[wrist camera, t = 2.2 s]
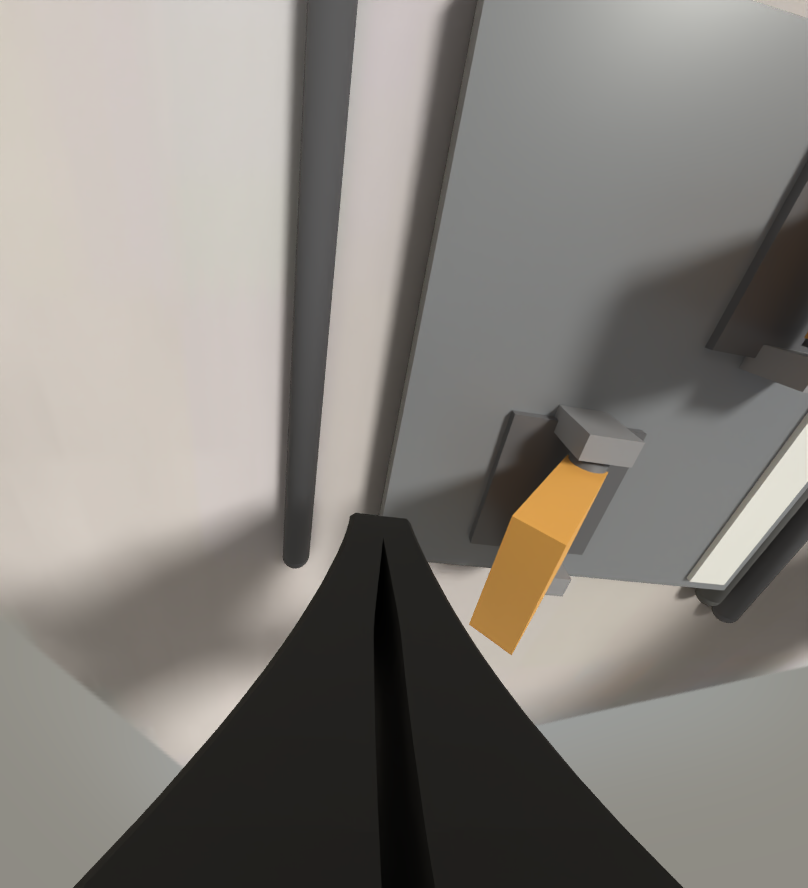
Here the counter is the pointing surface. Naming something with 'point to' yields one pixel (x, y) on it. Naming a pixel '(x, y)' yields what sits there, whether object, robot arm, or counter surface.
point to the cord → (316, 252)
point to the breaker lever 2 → (805, 341)
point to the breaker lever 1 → (535, 550)
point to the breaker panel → (616, 288)
